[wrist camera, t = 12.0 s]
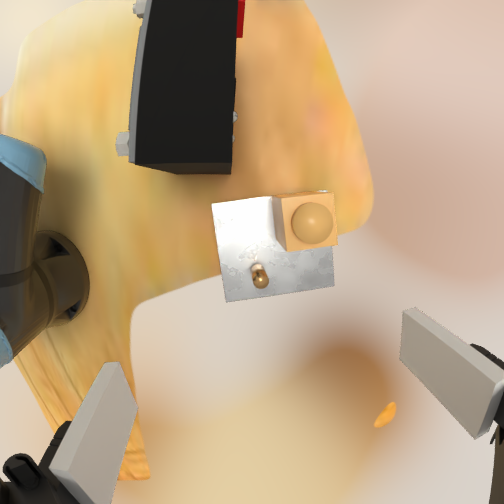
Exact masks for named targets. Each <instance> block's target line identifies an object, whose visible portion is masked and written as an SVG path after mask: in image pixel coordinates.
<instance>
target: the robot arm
mask: <svg viewBox="0 0 504 504" xmlns="http://www.w3.org/2000/svg"><path fill="white" fill-rule="evenodd" d="M46 165H47V160H46V156H45V154H44V152H43V151H42V150H41V149H39V148H38V147H35V146H33V145H31V144H28V143H26V142H23V141H20V140H18V139H15V138H12V137H9V136H5V135H2V134H0V368H1V367H3V366H4V365H5V364H8V363H10V362H11V361H12V359H13V358H14V357H15V356H16V355H17V354H18V353H19V352H20V351H21V350H22V349H23V348H24V347H25V346H26V345H28V344H29V343H30V342H31V341H32V340H33V339H34V338H35V337H36V336H37V335H38V334H39V333H40V332H41V331H42V330H44V329H45V328H49V327H54V326H59V325H63V324H66V323H68V322H69V321H71V320H72V319H73V318H75V317H76V316H77V315H78V314H79V313H80V312H81V311H82V309H83V308H84V306H85V304H86V302H87V298H88V294H89V276H88V271H87V268H86V265H85V262H84V260H83V258H82V256H81V254H80V252H79V251H78V249H77V248H76V247H75V246H74V244H73V243H72V242H71V241H70V240H68V239H67V238H66V237H64V236H63V235H61V234H59V233H56V232H53V231H40V232H36V231H37V223H38V216H39V209H40V203H41V197H42V194H44V188H43V183H44V177H45V171H46ZM399 359H400V360H401V361H402V362H403V363H404V365H405V366H406V367H408V369H409V370H410V371H411V372H412V373H413V374H414V375H415V376H416V377H417V378H418V379H419V380H420V381H421V382H422V383H423V384H424V385H425V386H426V388H427V389H428V390H429V391H430V392H431V393H432V394H433V395H434V396H435V397H436V398H437V399H438V400H439V401H440V402H441V404H442V405H443V406H444V407H445V408H446V409H447V410H448V411H449V412H450V413H451V414H452V415H453V416H454V418H455V419H456V420H457V421H458V422H459V423H460V424H461V425H462V426H463V427H464V428H465V429H466V431H467V432H468V433H469V434H470V435H471V436H472V437H473V438H474V439H477V438H478V437H480V436H482V435H483V434H485V433H486V432H488V431H489V429H490V427H491V425H492V422H493V420H494V421H495V422H496V423H497V424H498V426H497V428H496V430H495V433H494V434H493V437H492V439H491V441H490V444H492V443H493V441H494V439H495V457H494V468H493V478H492V486H491V494H490V500H489V504H504V362H503V361H502V360H500V359H499V358H498V359H497V357H496V356H495V355H493V354H491V353H490V352H489V351H488V350H486V349H485V348H483V347H481V346H478V345H475V344H470V345H469V344H467V343H466V342H464V341H463V340H462V339H460V338H459V337H458V336H456V335H454V334H453V333H452V332H450V331H449V330H448V329H446V328H445V327H444V326H442V325H441V324H439V323H438V322H436V321H435V320H434V319H432V318H431V317H429V316H428V315H426V314H425V313H423V312H422V311H420V310H419V309H417V308H416V307H415V308H411V309H407V310H404V311H403V315H402V333H401V347H400V358H399ZM137 410H138V406H137V404H136V402H135V399H134V397H133V395H132V392H131V390H130V387H129V385H128V383H127V380H126V378H125V375H124V372H123V370H122V367H121V365H120V362H106V363H104V365H103V366H102V368H101V370H100V372H99V373H98V375H97V377H96V379H95V380H94V382H93V384H92V386H91V388H90V389H89V391H88V393H87V395H86V397H85V398H84V400H83V402H82V404H81V406H80V408H79V409H78V411H77V413H76V415H75V417H74V419H73V421H66V422H65V423H63V424H62V425H61V426H60V427H59V428H58V430H57V431H56V433H55V435H54V437H53V438H54V439H52V441H51V443H50V446H48V448H47V450H46V452H45V454H44V456H43V457H42V459H41V462H40V463H39V465H38V466H37V464H36V463H35V462H34V460H33V459H32V458H31V457H30V456H29V455H27V454H22V453H19V454H15V455H13V456H11V457H10V458H9V459H8V460H7V461H6V462H5V464H4V466H3V473H4V474H5V475H6V476H7V477H8V479H9V480H10V481H11V482H3V481H2V479H1V478H0V504H111V501H112V497H113V493H114V490H115V486H116V482H117V478H118V475H119V471H120V467H121V464H122V460H123V457H124V453H125V450H126V446H127V443H128V440H129V436H130V433H131V430H132V426H133V423H134V420H135V417H136V413H137Z"/></svg>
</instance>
